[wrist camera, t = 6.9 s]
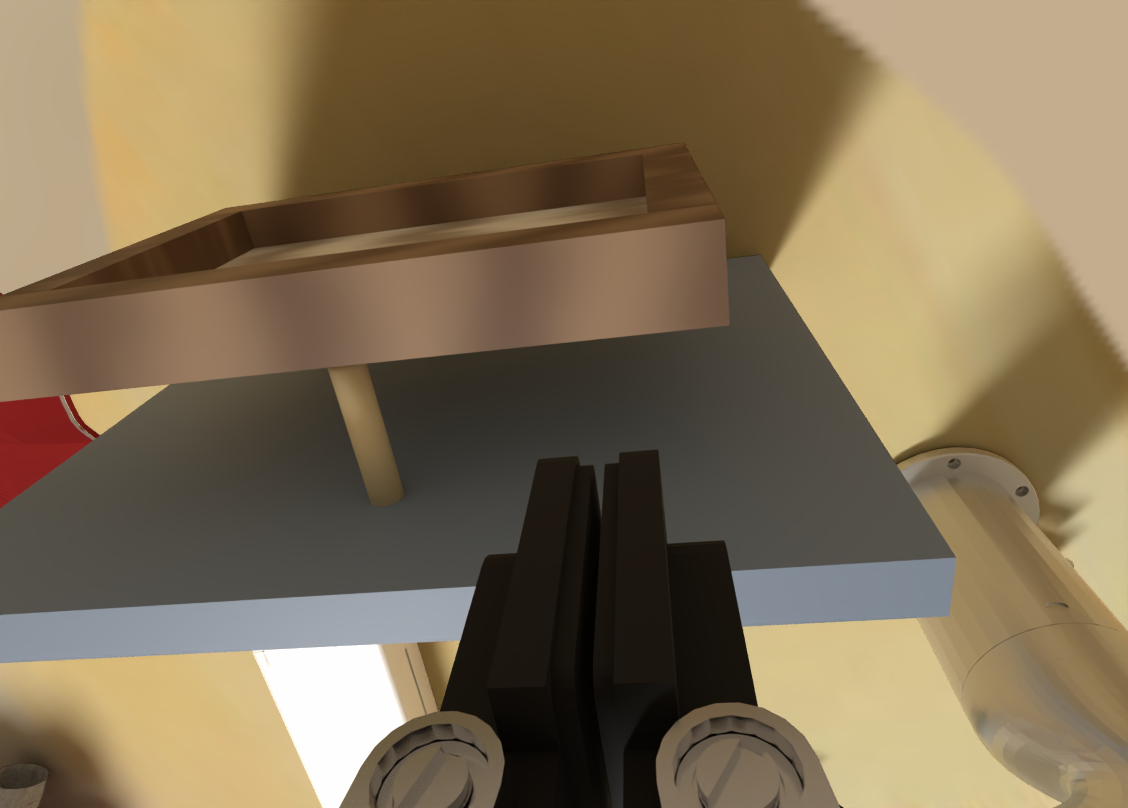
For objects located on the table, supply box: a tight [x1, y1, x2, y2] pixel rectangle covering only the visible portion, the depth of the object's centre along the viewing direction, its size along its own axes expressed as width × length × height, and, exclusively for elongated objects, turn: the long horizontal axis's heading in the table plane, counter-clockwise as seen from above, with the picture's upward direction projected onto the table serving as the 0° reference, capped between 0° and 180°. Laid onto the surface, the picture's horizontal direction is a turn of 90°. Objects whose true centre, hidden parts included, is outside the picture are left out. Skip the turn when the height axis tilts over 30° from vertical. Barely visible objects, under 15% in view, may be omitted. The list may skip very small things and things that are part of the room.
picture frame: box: [0, 143, 730, 402], centre depth 28 cm, size 24×3×17 cm, turn 98°
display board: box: [0, 255, 956, 663], centre depth 33 cm, size 34×7×30 cm, turn 98°
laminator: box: [252, 643, 438, 808], centre depth 65 cm, size 34×12×6 cm, turn 8°
